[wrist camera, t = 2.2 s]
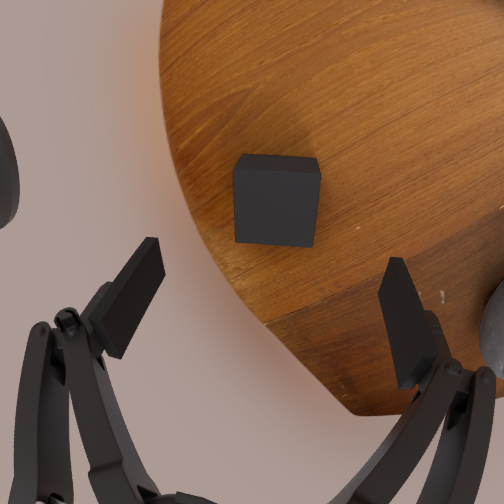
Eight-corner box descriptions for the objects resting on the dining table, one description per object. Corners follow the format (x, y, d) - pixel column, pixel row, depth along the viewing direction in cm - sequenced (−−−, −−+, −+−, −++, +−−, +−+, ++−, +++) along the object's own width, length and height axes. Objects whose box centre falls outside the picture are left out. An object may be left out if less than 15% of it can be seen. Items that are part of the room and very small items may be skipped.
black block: (243, 218, 26) (235, 242, 22) (242, 153, 22) (232, 169, 19) (310, 223, 25) (312, 248, 22) (316, 158, 22) (321, 174, 18)
